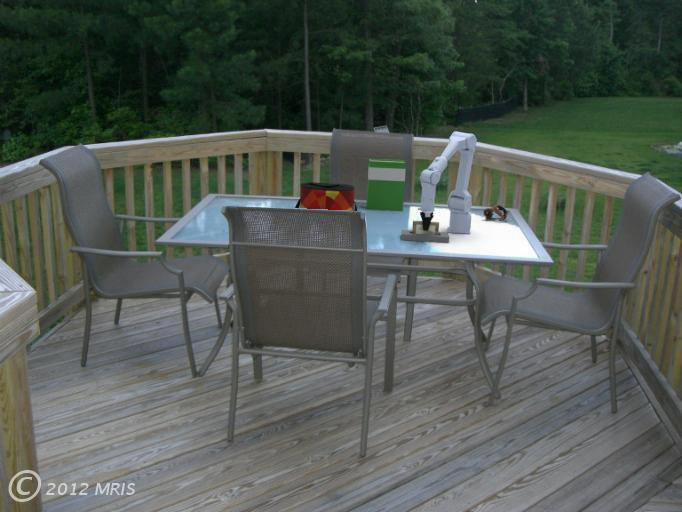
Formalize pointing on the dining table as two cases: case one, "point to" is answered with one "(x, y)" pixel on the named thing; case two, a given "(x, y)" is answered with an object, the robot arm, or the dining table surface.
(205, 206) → the dining table surface
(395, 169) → the hardback book
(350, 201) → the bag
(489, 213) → the dark brown curved piece
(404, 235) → the panel with rectangular hole
